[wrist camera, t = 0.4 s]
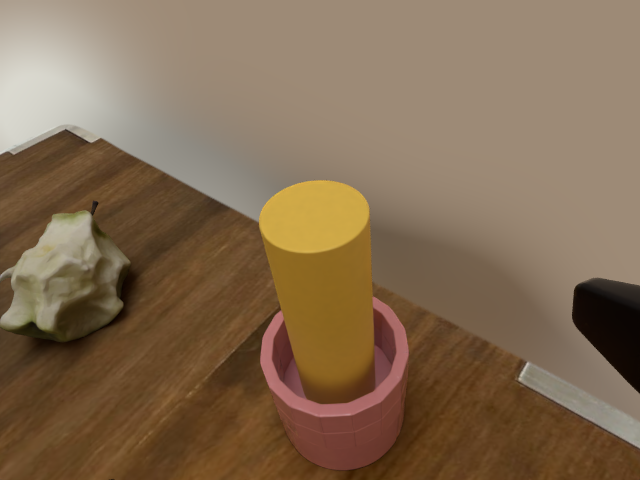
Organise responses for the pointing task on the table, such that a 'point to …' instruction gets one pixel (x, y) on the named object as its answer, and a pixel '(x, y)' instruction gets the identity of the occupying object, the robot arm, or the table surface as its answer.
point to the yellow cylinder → (324, 285)
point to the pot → (344, 418)
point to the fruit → (66, 281)
